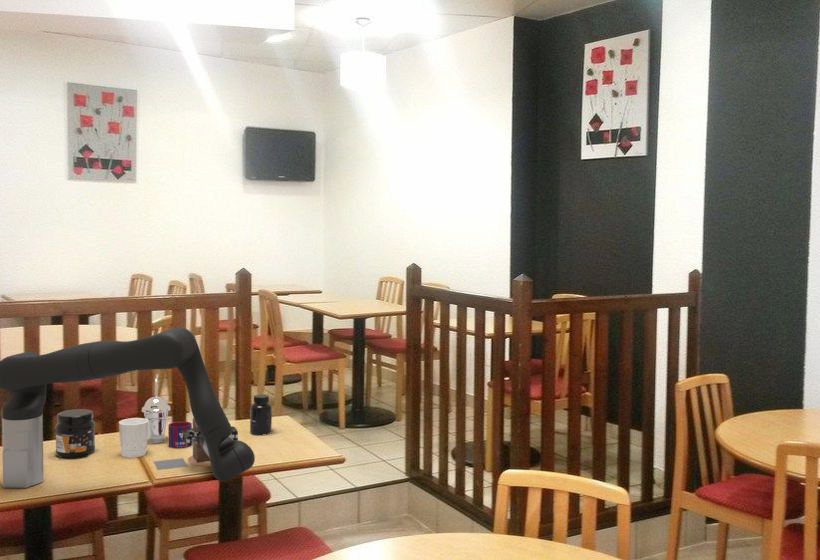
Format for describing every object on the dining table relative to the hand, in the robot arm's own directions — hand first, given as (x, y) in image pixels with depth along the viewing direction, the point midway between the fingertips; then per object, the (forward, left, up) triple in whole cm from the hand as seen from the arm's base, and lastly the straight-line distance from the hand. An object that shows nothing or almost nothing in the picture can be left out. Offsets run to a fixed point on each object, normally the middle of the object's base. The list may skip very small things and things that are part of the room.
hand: (205, 429), depth 219 cm
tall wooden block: (-1, -1, -8) cm, 8 cm away
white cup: (+4, +21, -9) cm, 23 cm away
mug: (+15, +11, -9) cm, 21 cm away
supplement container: (+5, +38, -9) cm, 40 cm away
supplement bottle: (+30, -11, -9) cm, 33 cm away
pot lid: (-1, -1, -9) cm, 9 cm away
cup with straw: (+19, +19, -9) cm, 28 cm away
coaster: (-5, +8, -9) cm, 13 cm away
